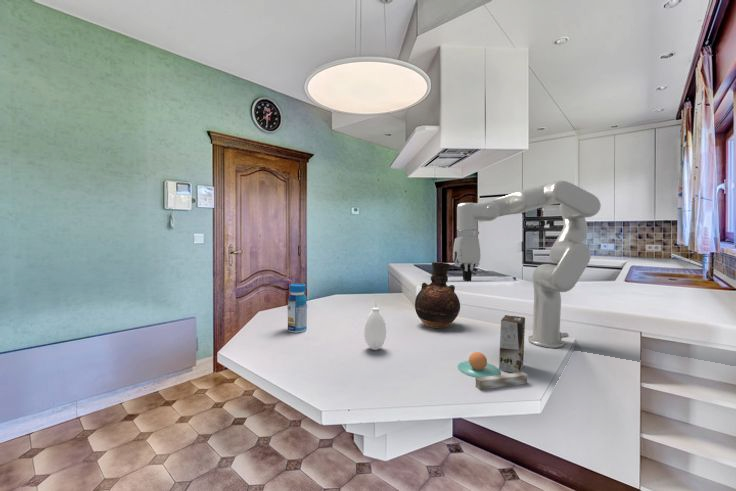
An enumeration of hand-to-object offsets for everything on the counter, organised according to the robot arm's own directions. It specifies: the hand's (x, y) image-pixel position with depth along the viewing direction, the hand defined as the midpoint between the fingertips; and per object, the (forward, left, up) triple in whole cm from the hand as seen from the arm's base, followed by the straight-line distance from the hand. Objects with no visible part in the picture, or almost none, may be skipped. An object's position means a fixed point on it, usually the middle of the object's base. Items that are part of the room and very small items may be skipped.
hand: (467, 280), depth 131 cm
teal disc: (+11, +24, -25) cm, 36 cm away
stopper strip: (+11, +35, -25) cm, 44 cm away
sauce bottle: (+38, -1, -25) cm, 45 cm away
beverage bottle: (+64, -31, -25) cm, 75 cm away
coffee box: (-1, +25, -25) cm, 35 cm away
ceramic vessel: (+1, -23, -25) cm, 34 cm away
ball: (+11, +24, -22) cm, 34 cm away
